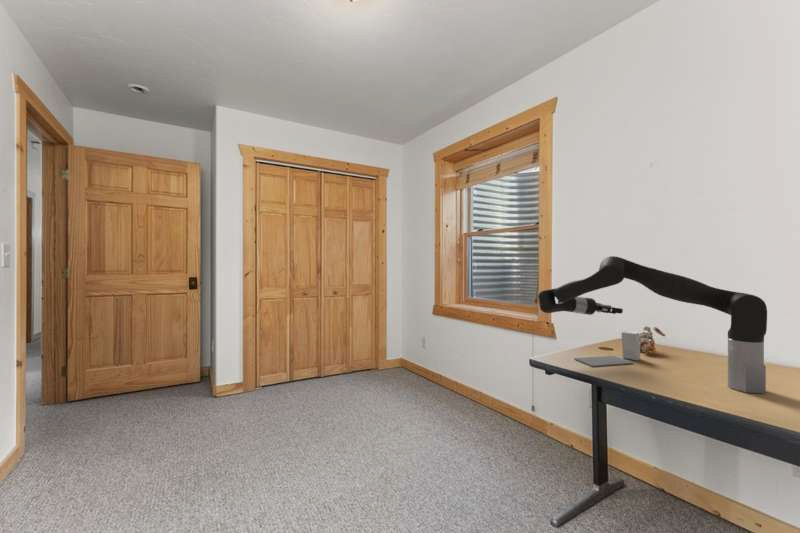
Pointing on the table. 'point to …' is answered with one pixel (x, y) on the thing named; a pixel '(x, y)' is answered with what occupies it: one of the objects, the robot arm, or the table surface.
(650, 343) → the voxel character
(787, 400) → the table surface
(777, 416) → the table surface
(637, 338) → the skincare box
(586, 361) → the slate mat
